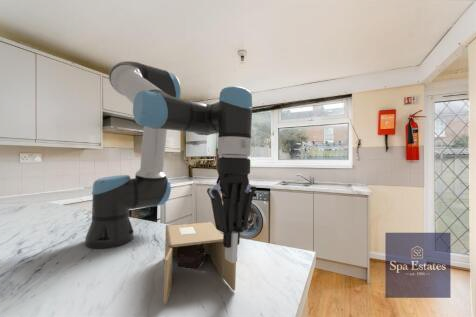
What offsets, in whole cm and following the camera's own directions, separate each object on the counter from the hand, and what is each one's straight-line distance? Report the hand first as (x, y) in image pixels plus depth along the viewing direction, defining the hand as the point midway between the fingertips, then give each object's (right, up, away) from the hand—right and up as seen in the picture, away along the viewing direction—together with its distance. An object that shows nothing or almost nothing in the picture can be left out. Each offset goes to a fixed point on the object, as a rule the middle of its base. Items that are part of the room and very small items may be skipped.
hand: (230, 260), depth 50 cm
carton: (-11, -7, +12) cm, 18 cm away
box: (-12, -8, +13) cm, 19 cm away
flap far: (-1, -7, +3) cm, 8 cm away
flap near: (-14, -7, -2) cm, 16 cm away
